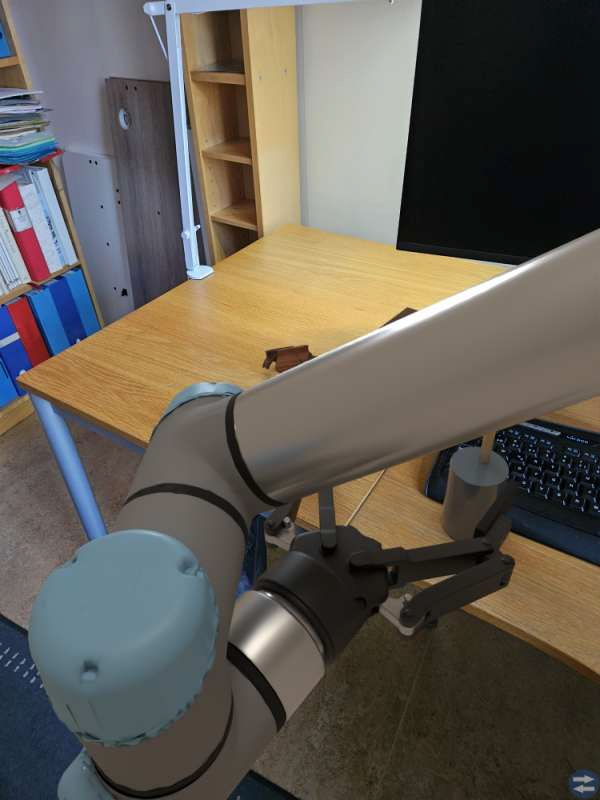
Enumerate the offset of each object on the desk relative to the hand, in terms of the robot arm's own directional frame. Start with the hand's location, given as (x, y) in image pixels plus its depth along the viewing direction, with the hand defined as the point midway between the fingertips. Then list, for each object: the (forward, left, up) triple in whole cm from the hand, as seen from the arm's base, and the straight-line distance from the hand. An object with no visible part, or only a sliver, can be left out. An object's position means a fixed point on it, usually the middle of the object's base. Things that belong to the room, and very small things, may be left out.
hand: (439, 457), depth 51 cm
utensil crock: (0, -12, -20) cm, 23 cm away
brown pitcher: (+36, -22, -20) cm, 46 cm away
